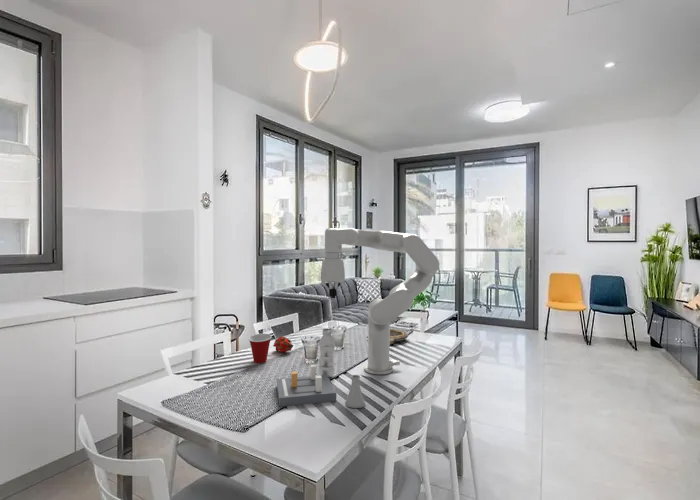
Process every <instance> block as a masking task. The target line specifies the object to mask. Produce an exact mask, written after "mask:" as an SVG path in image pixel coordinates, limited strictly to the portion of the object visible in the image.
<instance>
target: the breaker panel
mask: <svg viewBox="0 0 700 500" xmlns="http://www.w3.org/2000/svg"><path fill="white" fill-rule="evenodd" d="M309 372H310V376H297V387H292V386H291V377H287V378H286V377H284V378H276V391H277V397H278V405H279V407H280V408H281V407H290V406H301V405H311V404H319V403H329V402H337V390H335V389H336V388H334V385H333V384H332V381H331V380H330V377H329V378H328V376H327V375H319V374H318V375H317V365H316V364H310V371H309Z"/></svg>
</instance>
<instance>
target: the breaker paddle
mask: <svg viewBox="0 0 700 500" xmlns="http://www.w3.org/2000/svg"><path fill="white" fill-rule="evenodd" d="M290 375H291V377H290V378H291V386H292V387H297V377H298V371H291V374H290Z"/></svg>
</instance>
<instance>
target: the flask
mask: <svg viewBox="0 0 700 500" xmlns="http://www.w3.org/2000/svg"><path fill="white" fill-rule="evenodd" d="M350 377H351V384H350V389H349V391H348V395H347V396H346V400H345V401H344V402H345V407H348V408H350V409H351V408H352V409H362V408H363V407H365V405H366V402H365V399H364V395H363V392H362V389H361V385H360V379H361V376H360V375H359V374H352V375H351V376H350Z"/></svg>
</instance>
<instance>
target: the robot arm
mask: <svg viewBox="0 0 700 500" xmlns="http://www.w3.org/2000/svg"><path fill="white" fill-rule="evenodd" d="M343 245H346V246H357V247H365V248H372V249H375V250H378V251H379V250H380V251H385V252H395V253H396V252H397V253H401V254H407V255H408V256H409V258H410V259H411V260H412V262H414V263H415V270H414V272H413V273H412V274H411V275H410V276H409V277H408V278H406V279H404V280H403V281H401V283H399V284H397V285H395V286H394V287H393V288H391V290H390V291H389V294H388V295H387V296H386V297H384V298H383V299H382V298H375V299H372V301H371V302H370V303H369V305H368V308H367V323H368V325H367V327H368V330H367V333H368V335H367V336H368V337H367V364H365V365H364V367H363V368H364V369H363V370H364V371H365V372H366V373H368V374H371V375H378V376H379V375H388V374H391V373H392V372H394V371H393V369H394V368H393V367H394V366H400V365H401V363H400V360H395V359H390V349H391V348H390V347H391V346H390V345H391V344H390V329H391V327H390V326H391V322H392V321H393V320H395V319H396V318H398V317H400V316H401V315H403V314H404V313H405V312H407V311H408V310H409V309H410V308H411V307H412V305H413V303H414V299H415V298H416V297H417V296H418V295H421V293H423V292H424V291H425V290H427V288H429V286H430V284H431V283H432V280H433V277H434V274H436V273H437V271H438V270H439V268H440V260H439V259H438V257H437V256H436V255H435V253H434V252H433V251H432V250H431V249H430V248H429V246H428V245H427V244H426V243H425V242H424V240H422V238H421V237H420V236H419V235H417V234H415V233H404V232H395V231H388V230H365V229H364V230H363V229H358V228H357V229H356V228H353V227H348V228H338V227H335V228H332V227H331V228H326V229H325V230H324V258H323V259H322V262H321V269H320V280H321V281H320V284H321V285H322V286H326V287H327V288H328V290H329V291H328V296H329V298H331V299H336V297H337V292H338V291H337V290H338V288H339V287H340V286H342V285H343V286H344V285H345V284H346V281H345V279H346V275H345V274H346V272H345V263H344V262H345V261H344V259H342V258H344V257H346V254H345V253H343V249H342V247H343ZM332 283H333V284H332Z"/></svg>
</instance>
